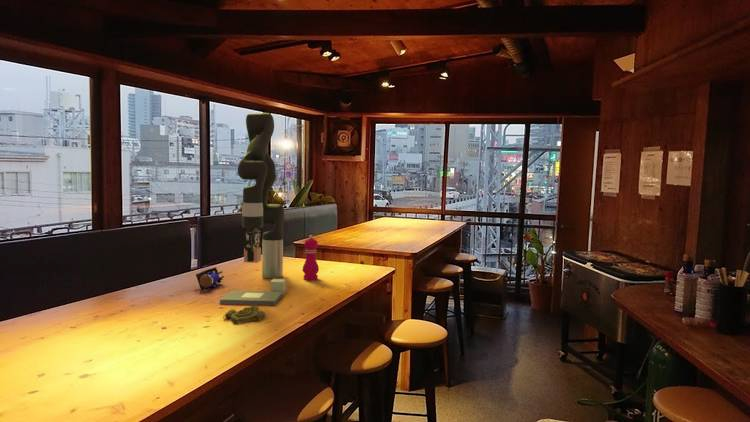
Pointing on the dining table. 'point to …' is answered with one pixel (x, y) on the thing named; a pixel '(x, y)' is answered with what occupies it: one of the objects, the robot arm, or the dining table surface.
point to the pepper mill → (310, 260)
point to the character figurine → (209, 278)
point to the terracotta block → (256, 255)
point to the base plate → (251, 297)
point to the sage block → (278, 285)
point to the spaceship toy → (245, 315)
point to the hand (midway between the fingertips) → (252, 259)
